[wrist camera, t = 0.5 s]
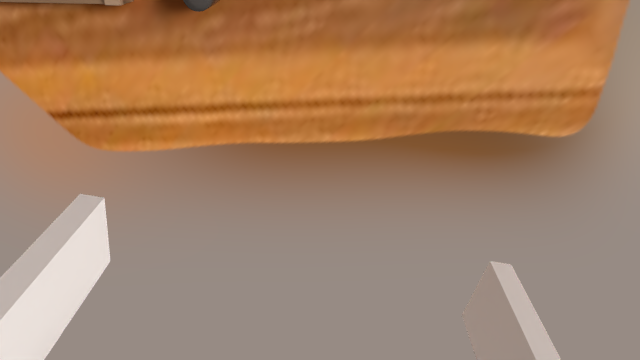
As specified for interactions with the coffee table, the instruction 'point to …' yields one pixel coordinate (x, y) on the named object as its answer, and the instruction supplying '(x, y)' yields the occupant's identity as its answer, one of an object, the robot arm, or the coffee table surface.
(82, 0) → the bay
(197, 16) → the coffee table surface
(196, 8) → the crank handle
